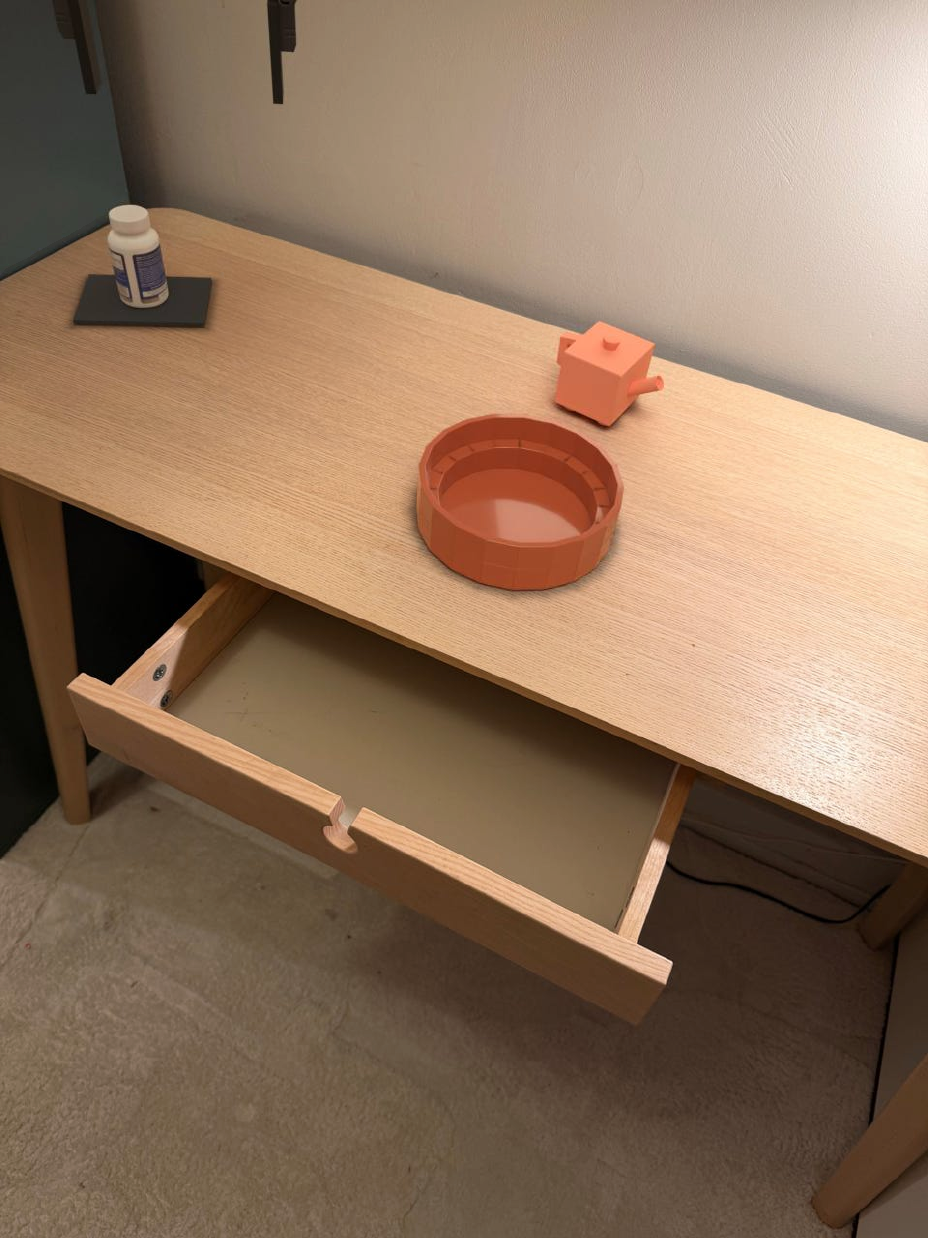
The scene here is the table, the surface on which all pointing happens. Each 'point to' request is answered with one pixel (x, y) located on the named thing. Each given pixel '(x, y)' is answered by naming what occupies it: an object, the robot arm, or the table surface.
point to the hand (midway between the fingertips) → (187, 93)
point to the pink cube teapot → (603, 372)
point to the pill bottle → (136, 257)
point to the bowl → (517, 501)
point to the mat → (176, 311)
